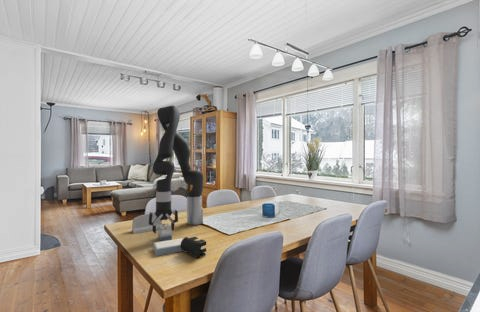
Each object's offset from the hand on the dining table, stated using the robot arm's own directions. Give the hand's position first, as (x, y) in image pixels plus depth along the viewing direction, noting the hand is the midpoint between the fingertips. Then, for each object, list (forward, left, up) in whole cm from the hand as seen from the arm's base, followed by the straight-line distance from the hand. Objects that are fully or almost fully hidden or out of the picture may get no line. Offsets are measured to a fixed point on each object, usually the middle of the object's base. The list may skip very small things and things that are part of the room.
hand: (163, 231), depth 128 cm
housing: (-1, 0, -5) cm, 5 cm away
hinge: (+5, -22, -5) cm, 23 cm away
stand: (-1, +14, -4) cm, 15 cm away
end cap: (-9, +24, -5) cm, 26 cm away
